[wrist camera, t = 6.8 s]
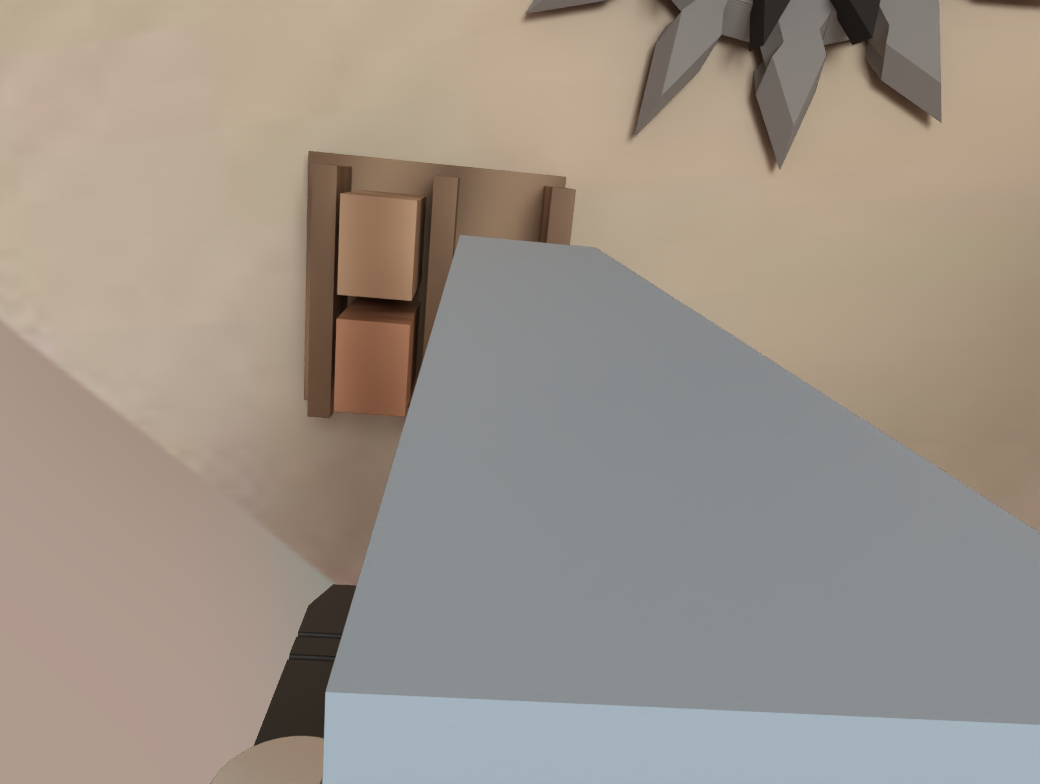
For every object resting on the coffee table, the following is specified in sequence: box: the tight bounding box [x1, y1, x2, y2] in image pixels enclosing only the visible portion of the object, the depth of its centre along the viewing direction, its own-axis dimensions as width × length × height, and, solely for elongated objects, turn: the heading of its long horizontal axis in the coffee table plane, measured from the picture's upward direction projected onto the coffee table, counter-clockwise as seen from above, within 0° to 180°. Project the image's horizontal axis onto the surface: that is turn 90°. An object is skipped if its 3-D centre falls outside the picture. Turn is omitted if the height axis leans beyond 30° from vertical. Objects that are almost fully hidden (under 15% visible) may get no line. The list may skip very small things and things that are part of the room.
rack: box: [304, 151, 576, 418], centre depth 36 cm, size 12×12×6 cm
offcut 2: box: [334, 296, 420, 417], centre depth 34 cm, size 3×4×6 cm
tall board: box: [323, 235, 1040, 784], centre depth 11 cm, size 3×9×15 cm, turn 174°
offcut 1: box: [337, 190, 426, 301], centre depth 33 cm, size 3×4×6 cm
